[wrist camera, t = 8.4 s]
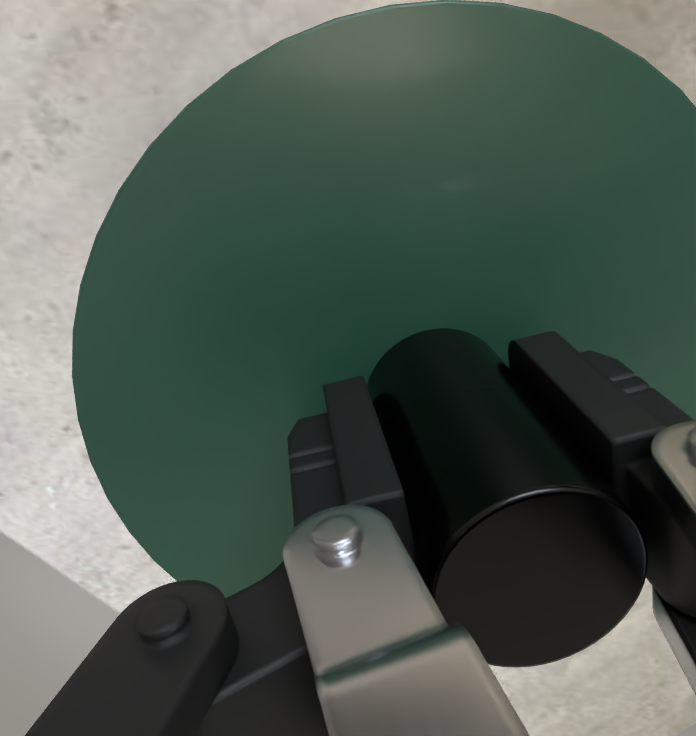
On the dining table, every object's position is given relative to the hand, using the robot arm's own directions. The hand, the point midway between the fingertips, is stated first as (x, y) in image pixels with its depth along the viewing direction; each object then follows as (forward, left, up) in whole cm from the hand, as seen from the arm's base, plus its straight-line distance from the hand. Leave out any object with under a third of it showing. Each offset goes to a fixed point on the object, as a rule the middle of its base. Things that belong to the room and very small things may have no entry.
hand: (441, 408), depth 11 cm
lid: (0, 0, -1) cm, 1 cm away
